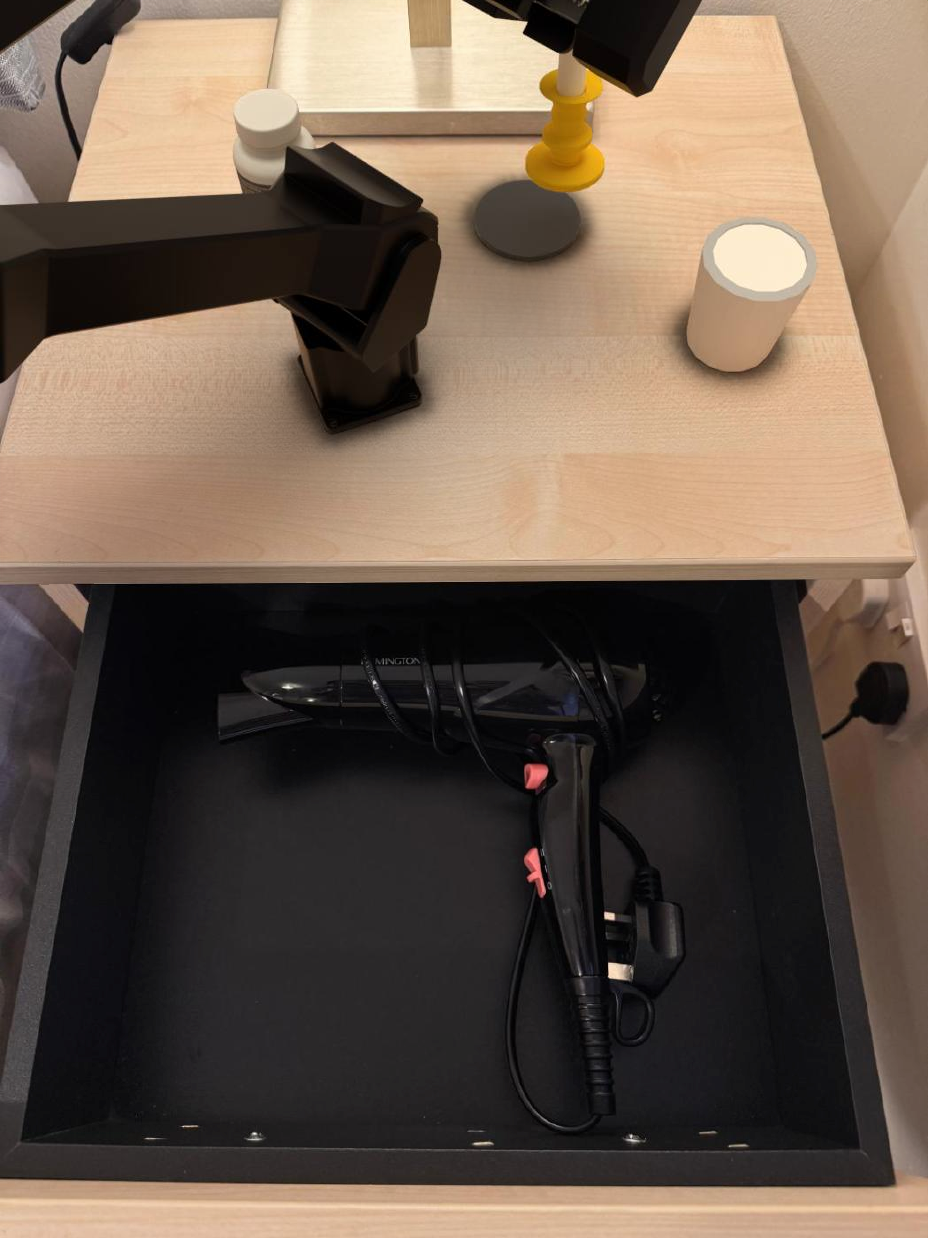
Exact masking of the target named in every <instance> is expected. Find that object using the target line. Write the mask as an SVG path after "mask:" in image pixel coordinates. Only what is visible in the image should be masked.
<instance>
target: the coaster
mask: <svg viewBox="0 0 928 1238" xmlns="http://www.w3.org/2000/svg"><path fill="white" fill-rule="evenodd" d="M473 219H474V220H473V222H474V223H473V224H474V229H475V232H476V234H477V236H478V238H479V239H480V241H481V242H482V243H483V244H484V245H485V247H487V248H488V249H490V250H491V251H492V252H494V253H495V254H498V255H500V256H502V257H505V258H508V259H511V260H516V261H524V262H525V261H527V262H530V261H531V262H532V261H540V260H545V259H549V258H553V257H554V256H557V255H559V254H562V253H563V252H564V251H566V250H567V249H568V248H569V247H570V246H571V245H572V244H573V243H574V242H575V240H576V239H577V237H578V235H579V232H580V229H581V213H580V209H579V207H578V205H577V203H576V201H575V200H574V199H573V197H571V196H570V194H569V193H568V192H555V191H550V190H547V189H544V188H542V187H540V186H538V185H537V184H535V183H534V182H533V181H532V180H531V179H517V180H512V181H507V182H504V183H501V184H499V185H497V186H495V187H492V188H491V189H490V190H488V191H487V192H486V193H484V195H483V196H482V197H481V198H480V199H479V201H478V203H477V205H476V207H475V209H474V218H473Z"/></svg>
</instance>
